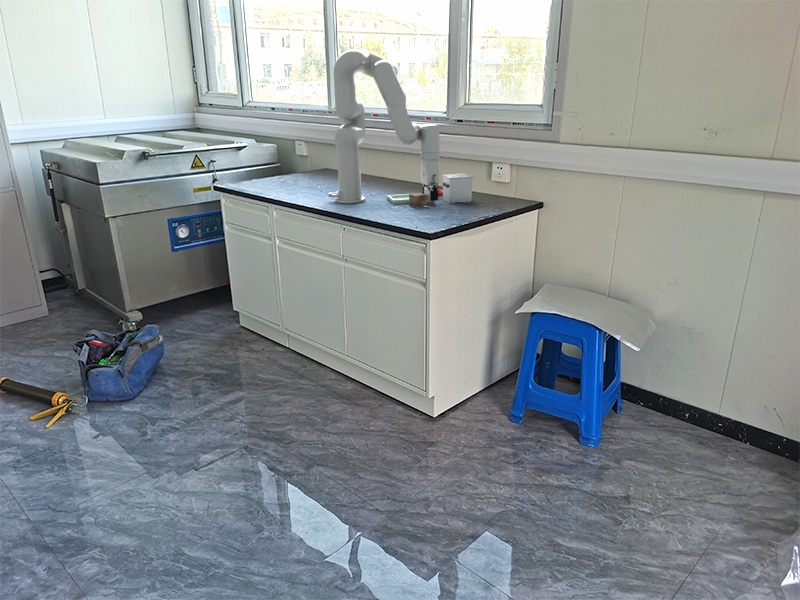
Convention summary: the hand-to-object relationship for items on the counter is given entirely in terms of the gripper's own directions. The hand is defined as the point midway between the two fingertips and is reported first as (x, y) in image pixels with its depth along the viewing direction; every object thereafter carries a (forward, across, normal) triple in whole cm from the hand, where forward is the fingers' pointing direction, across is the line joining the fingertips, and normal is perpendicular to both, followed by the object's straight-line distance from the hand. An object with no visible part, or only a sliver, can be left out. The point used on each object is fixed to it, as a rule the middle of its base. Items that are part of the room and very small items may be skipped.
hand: (430, 198), depth 241 cm
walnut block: (+2, +2, -6) cm, 7 cm away
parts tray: (+2, -9, -9) cm, 13 cm away
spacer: (+2, 0, 0) cm, 2 cm away
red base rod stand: (+3, -21, +10) cm, 23 cm away
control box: (+2, -2, +13) cm, 13 cm away
